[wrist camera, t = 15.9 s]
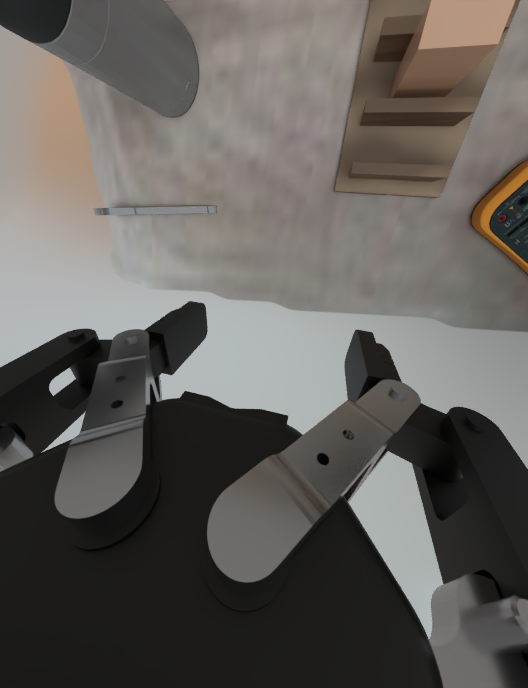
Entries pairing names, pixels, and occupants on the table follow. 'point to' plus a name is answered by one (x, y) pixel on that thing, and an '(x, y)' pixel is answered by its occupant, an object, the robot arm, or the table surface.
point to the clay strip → (449, 45)
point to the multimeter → (507, 216)
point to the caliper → (155, 210)
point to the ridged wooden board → (404, 113)
